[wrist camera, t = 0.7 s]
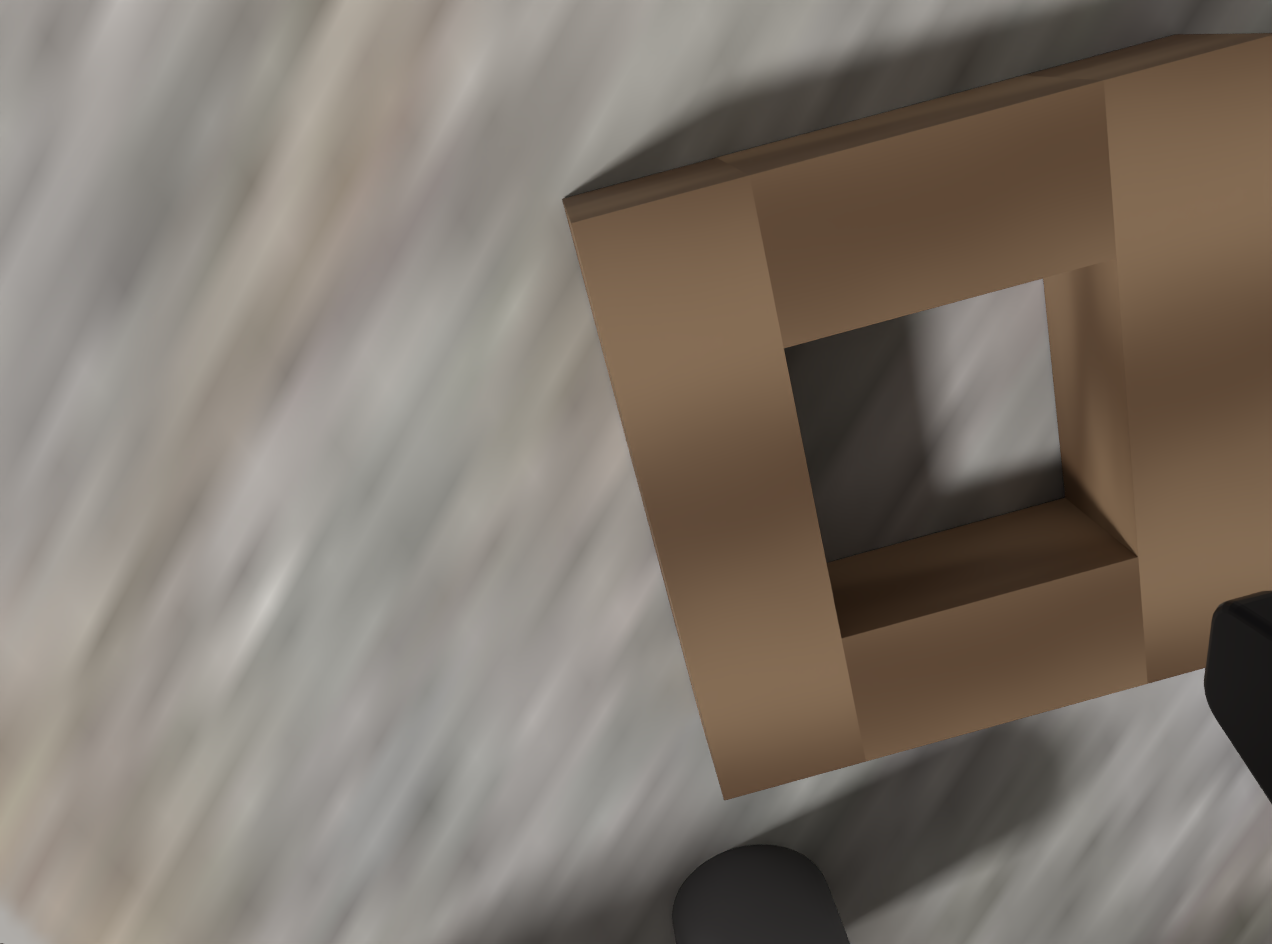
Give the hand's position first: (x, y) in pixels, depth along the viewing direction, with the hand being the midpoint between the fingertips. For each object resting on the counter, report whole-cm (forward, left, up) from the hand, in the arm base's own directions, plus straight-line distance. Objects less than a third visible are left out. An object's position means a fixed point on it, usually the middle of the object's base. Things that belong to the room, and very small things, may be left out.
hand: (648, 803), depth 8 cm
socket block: (-4, -7, -14) cm, 16 cm away
